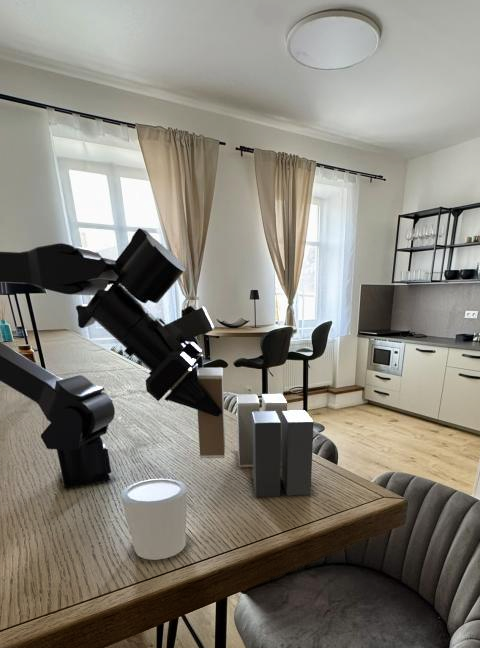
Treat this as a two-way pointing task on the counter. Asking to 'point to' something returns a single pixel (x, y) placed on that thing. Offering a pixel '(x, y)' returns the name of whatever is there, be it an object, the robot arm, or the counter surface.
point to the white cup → (156, 517)
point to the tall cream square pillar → (209, 424)
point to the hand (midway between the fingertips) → (220, 408)
